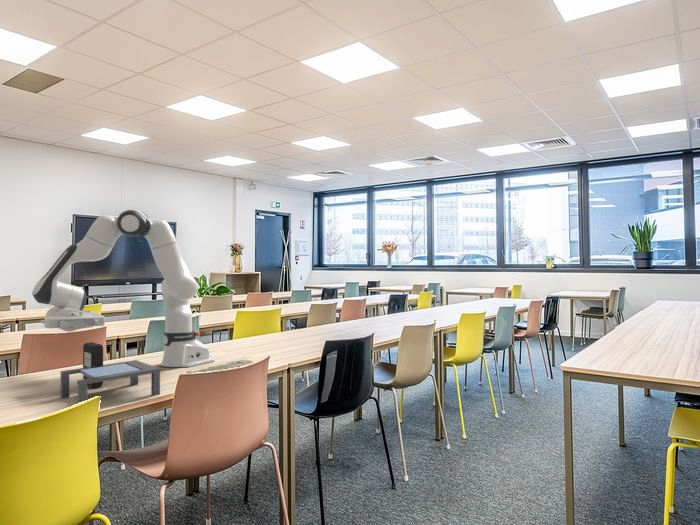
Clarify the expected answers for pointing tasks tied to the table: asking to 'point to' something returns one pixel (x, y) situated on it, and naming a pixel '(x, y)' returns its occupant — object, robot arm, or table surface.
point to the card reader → (92, 359)
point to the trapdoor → (108, 370)
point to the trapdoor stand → (111, 378)
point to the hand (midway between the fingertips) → (82, 323)
